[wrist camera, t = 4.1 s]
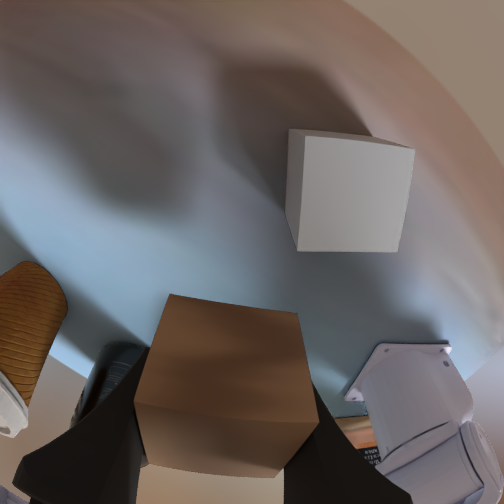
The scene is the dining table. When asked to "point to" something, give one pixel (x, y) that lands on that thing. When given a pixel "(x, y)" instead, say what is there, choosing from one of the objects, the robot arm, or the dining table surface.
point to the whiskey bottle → (361, 437)
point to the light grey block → (346, 191)
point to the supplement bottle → (106, 379)
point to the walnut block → (225, 389)
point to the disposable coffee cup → (25, 337)
